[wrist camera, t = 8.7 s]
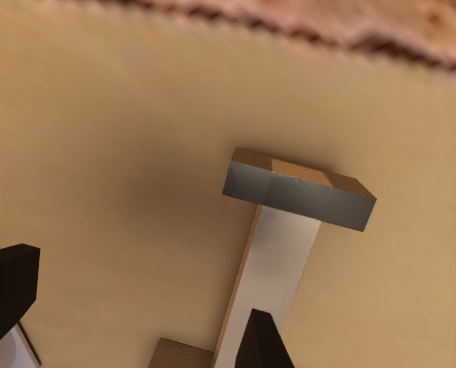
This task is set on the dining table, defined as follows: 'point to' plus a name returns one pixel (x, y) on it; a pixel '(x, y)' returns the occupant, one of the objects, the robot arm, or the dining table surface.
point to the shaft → (281, 234)
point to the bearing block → (179, 356)
